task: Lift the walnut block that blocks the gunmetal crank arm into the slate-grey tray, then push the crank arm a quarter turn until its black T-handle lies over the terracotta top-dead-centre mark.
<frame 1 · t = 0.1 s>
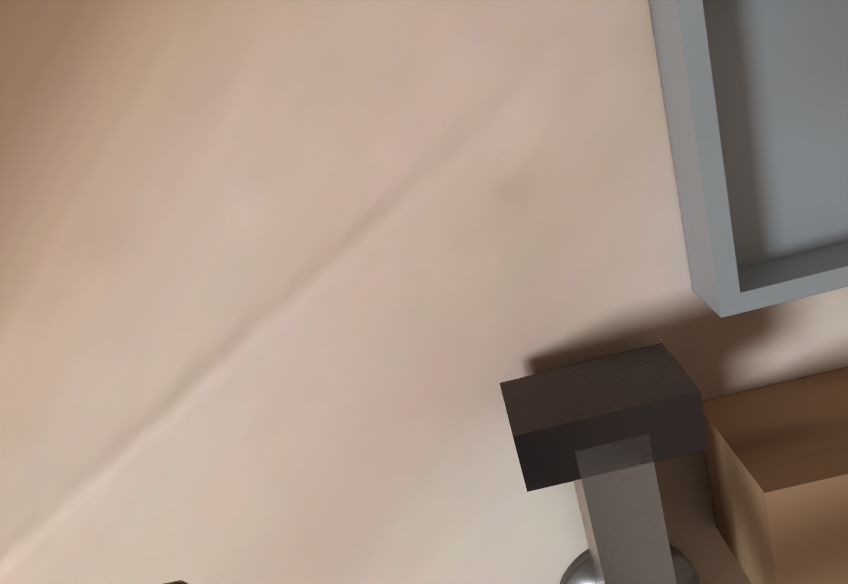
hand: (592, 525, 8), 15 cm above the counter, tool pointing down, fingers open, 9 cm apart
tray: (832, 101, 21), on the counter
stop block: (780, 448, 25), on the counter
crank arm: (626, 550, 23), point 2 cm above the counter, hinge at 0.0°
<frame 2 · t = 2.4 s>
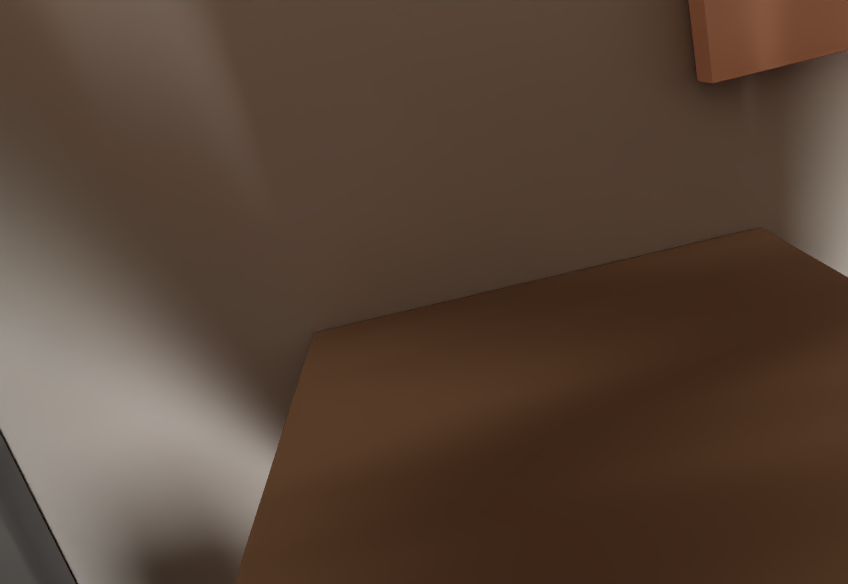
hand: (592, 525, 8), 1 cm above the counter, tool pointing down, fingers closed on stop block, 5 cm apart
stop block: (572, 471, 9), on the counter, touching gripper
when the fingers open (3 cm above the counter, at t = 6.4 s): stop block drops 2 cm, resting on tray.
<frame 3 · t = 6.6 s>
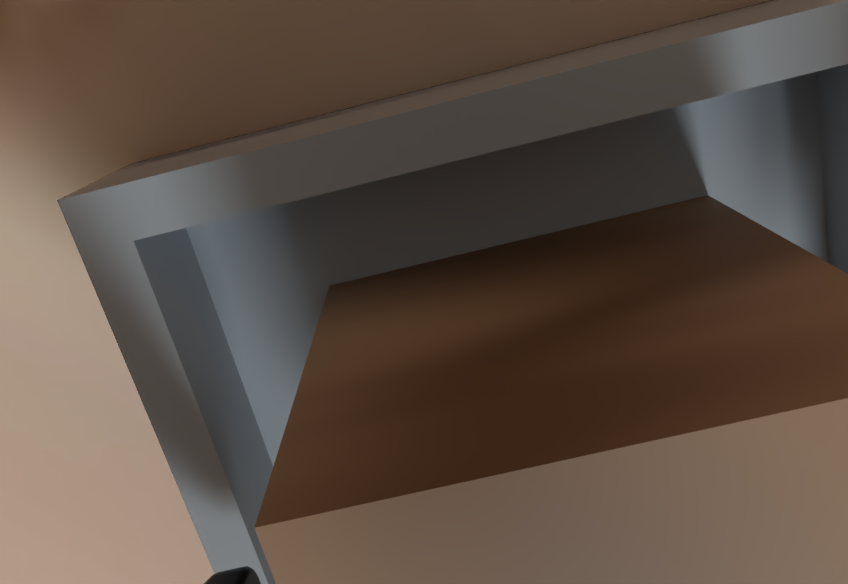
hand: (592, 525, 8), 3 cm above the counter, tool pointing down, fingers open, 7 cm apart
tray: (540, 389, 11), on the counter
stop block: (550, 407, 10), point 1 cm above the counter, touching tray
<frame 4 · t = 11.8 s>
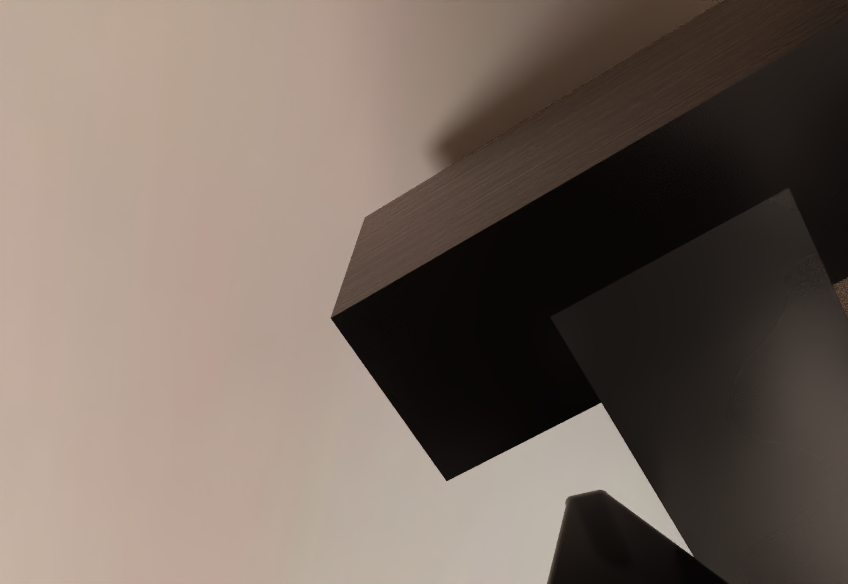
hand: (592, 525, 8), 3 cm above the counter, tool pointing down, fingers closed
crank arm: (808, 560, 9), point 2 cm above the counter, hinge at -4.5°, touching gripper
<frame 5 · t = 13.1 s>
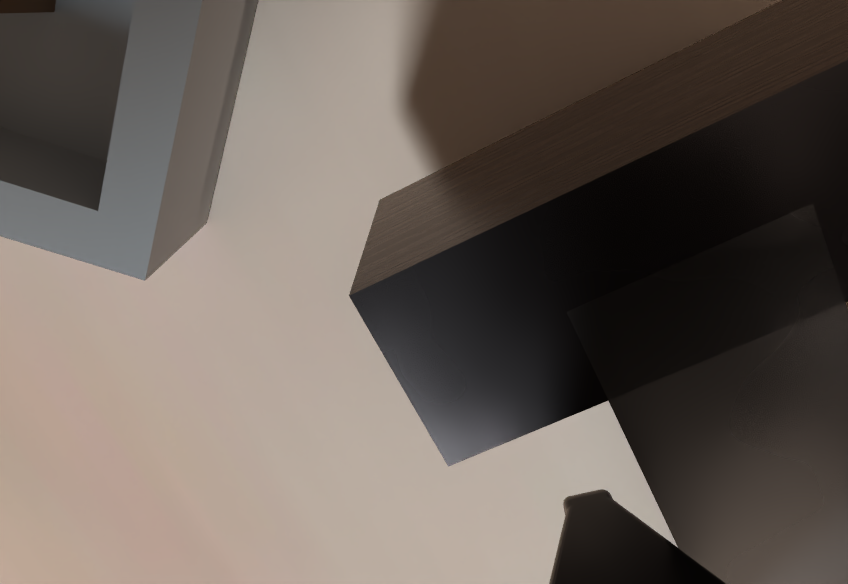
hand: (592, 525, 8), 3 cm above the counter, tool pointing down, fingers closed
crank arm: (788, 571, 9), point 2 cm above the counter, hinge at -44.8°, touching gripper
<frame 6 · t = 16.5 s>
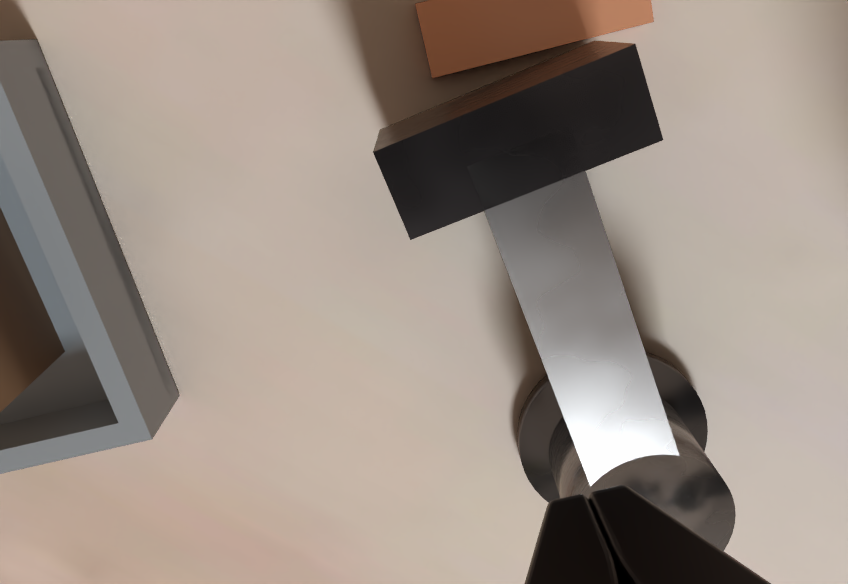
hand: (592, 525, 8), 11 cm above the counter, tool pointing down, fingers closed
crank arm: (582, 341, 17), point 2 cm above the counter, hinge at -81.7°
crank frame: (608, 431, 20), on the counter
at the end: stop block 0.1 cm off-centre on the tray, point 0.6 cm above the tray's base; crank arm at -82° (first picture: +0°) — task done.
